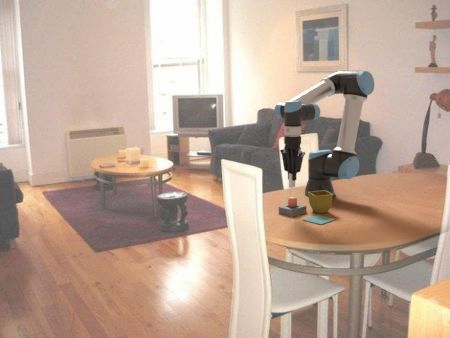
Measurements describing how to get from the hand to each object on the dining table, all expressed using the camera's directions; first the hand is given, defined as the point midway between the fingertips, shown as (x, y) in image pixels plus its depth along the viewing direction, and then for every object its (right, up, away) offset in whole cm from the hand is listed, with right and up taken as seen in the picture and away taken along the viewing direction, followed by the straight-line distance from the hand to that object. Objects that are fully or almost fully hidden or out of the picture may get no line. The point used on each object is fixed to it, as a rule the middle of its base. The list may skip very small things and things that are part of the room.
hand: (292, 187), depth 242 cm
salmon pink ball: (0, -9, +2) cm, 9 cm away
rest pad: (+10, -14, -10) cm, 20 cm away
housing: (+1, -12, +3) cm, 12 cm away
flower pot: (+13, -12, +3) cm, 18 cm away
